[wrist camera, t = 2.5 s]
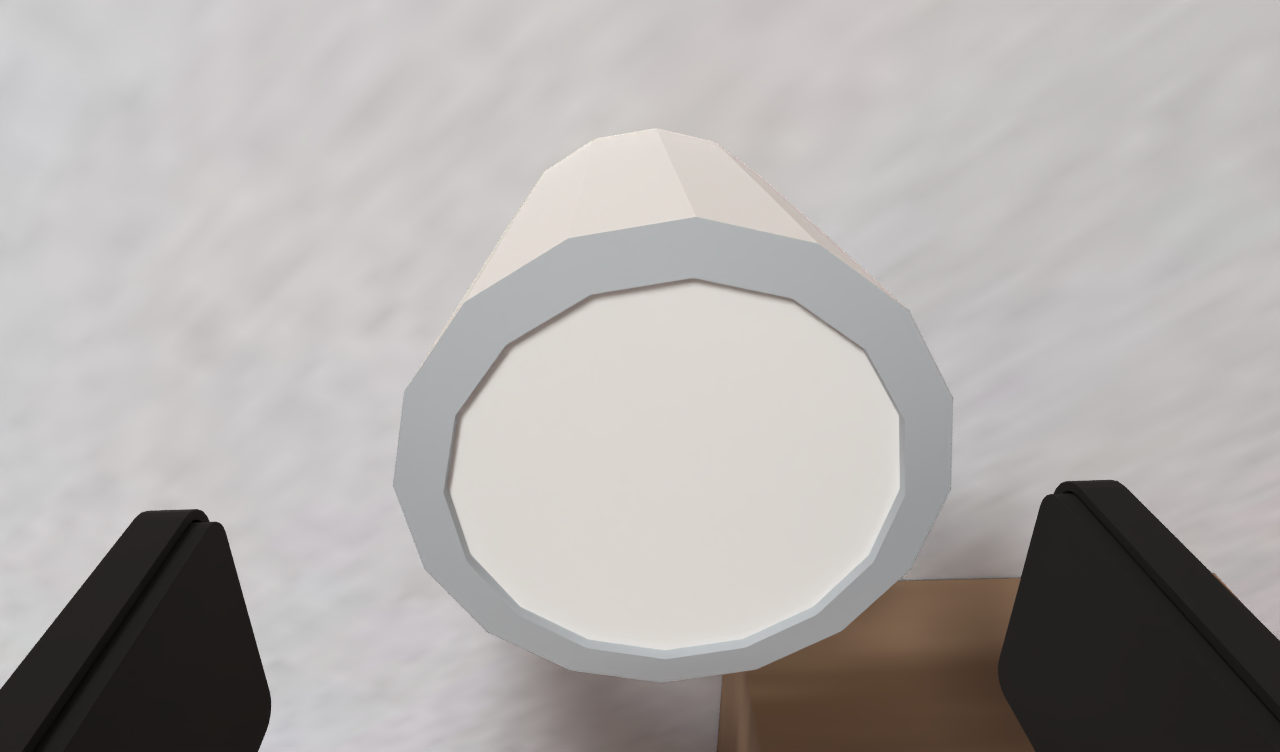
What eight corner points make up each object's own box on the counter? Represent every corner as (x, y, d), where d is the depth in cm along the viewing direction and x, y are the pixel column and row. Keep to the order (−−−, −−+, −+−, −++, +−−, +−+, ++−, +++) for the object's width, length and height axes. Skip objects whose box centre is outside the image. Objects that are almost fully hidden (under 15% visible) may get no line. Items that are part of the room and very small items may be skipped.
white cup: (640, 479, 19) (658, 757, 13) (395, 270, 16) (268, 491, 10) (894, 280, 17) (1067, 496, 10) (661, 3, 14) (708, 74, 8)
